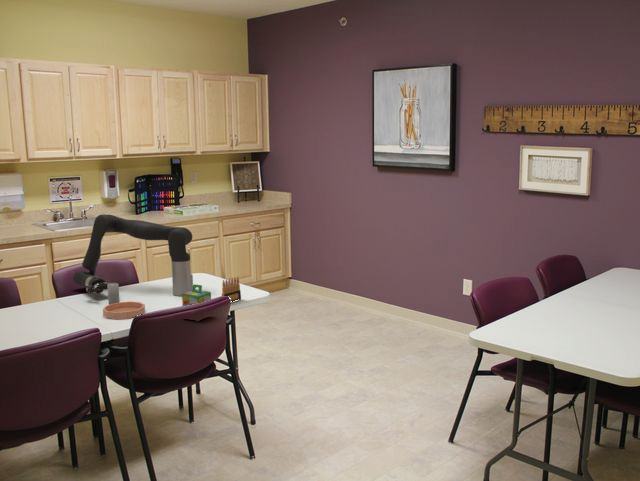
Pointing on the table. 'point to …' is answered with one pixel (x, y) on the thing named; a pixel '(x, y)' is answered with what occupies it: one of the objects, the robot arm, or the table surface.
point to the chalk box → (195, 296)
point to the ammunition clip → (231, 289)
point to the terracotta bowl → (123, 310)
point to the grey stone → (113, 293)
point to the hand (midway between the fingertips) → (108, 290)
